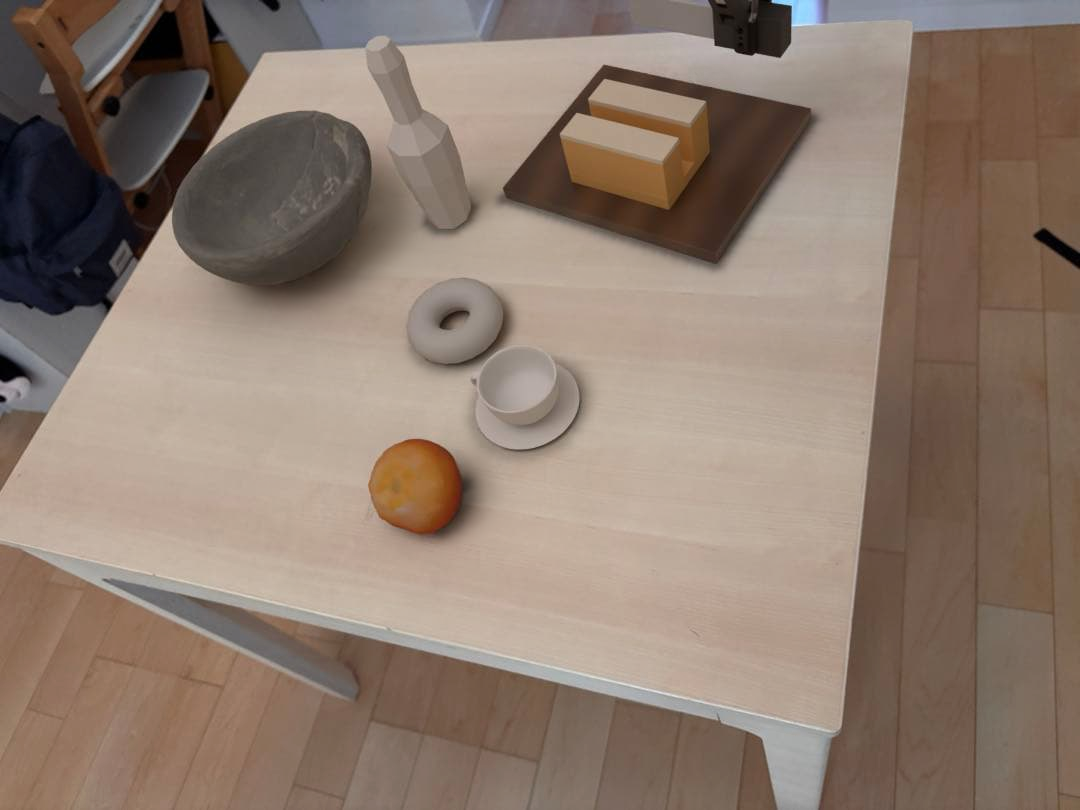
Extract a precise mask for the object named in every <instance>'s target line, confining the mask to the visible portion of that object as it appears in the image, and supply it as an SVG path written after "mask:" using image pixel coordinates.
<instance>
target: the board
mask: <svg viewBox="0 0 1080 810" xmlns="http://www.w3.org/2000/svg"><path fill="white" fill-rule="evenodd" d="M604 79H608V80H612V81H617V82H621V83H626V84H630V85H635V86H639V87H644V88H648V89H653V90H657V91H662V92H666V93H671V94H676V95H680V96H685V97H689V98H694V99H698V100H703V101H706V106H707V118H708V131H709V145H710V153H709V154H708V156H707V157H706V159H705V160H704V161H703V163H702V164H701V166H700V167H699V169H698V170H697V171H696V173H695V174H694V176H693V177H692V178H691V180H690V181H689V183H688V184H687V185H686V187H685V188H684V190H683V191H682V193H681V194H680V195H679V197H678V198H677V200H676V201H675V202H674V204H673V205H672V207H671V208H670V210H667V209H664V208H660V207H657V206H654V205H650V204H647V203H643V202H640V201H636V200H633V199H629V198H626V197H623V196H619V195H616V194H612V193H609V192H605V191H602V190H598V189H595V188H592V187H588V186H585V185H581V184H578V183H574V182H572V181H571V177H570V173H569V169H568V165H567V161H566V157H565V153H564V149H563V145H562V141H561V137H560V133H561V132H562V130H563V129H564V128H565V127H566V125H567V124H568V123H569V122H570V121H571V119H572V118H573V117H574V116H575V114H576V113H580V114H584V115H588V116H591V111H590V107H589V101H588V98H589V97H590V96H591V95H592V93H593V92H594V91H595V90H596V88H597V87H598V86H599V85H600V84H601V82H602V81H603V80H604ZM811 118H812V108H811V107H807V106H802V105H797V104H792V103H787V102H783V101H780V100H779V101H778V100H773V99H770V98H764V97H760V96H755V95H751V94H746V93H741V92H737V91H736V92H735V91H731V90H726V89H722V88H717V87H712V86H707V85H703V84H700V83H699V84H698V83H694V82H688V81H684V80H680V79H675V78H670V77H665V76H660V75H655V74H651V73H647V72H642V71H636V70H632V69H627V68H622V67H619V66H613V65H610V64H609V65H608V64H603V65H601V67H600V69H599V70H598V71H597V72H596V74H594V76H593V77H592V78H591V79H590V80H589V82H588V83H587V84H586V85H585V87H584V88H583V89H582V90H581V92H580V93H579V94H578V95H577V97H575V99H574V100H573V101H572V103H571V104H569V106H568V107H567V109H566V110H565V111H564V112H563V114H562V115H561V116H560V117H559V118H558V120H557V121H556V122H555V123H554V125H553V126H551V128H550V129H549V131H548V132H547V133H546V135H544V136H543V138H542V139H541V140H540V142H539V143H538V144H537V146H536V147H535V148H534V149H533V150H532V151H531V152H530V154H529V155H528V156H527V157H526V158H525V160H524V161H523V162H522V163H521V165H520V166H519V167H518V169H516V170H515V172H514V173H513V175H511V177H510V178H509V180H508V181H507V182H506V183H505V184H504V186H503V187H502V190H503V191H502V192H503V193H504V196H505V198H506V199H508V200H512V201H515V202H519V203H521V204H525V205H528V206H531V207H534V208H537V209H540V210H544V211H547V212H551V213H553V214H557V215H560V216H562V217H566V218H568V219H573V220H576V221H579V222H581V223H585V224H588V225H592V226H595V227H598V228H601V229H604V230H608V231H611V232H614V233H617V234H620V235H624V236H627V237H629V238H633V239H636V240H639V241H643V242H646V243H648V244H652V245H656V246H659V247H661V248H665V249H667V250H671V251H674V252H677V253H681V254H684V255H687V256H690V257H693V258H697V259H699V260H703V261H706V262H709V263H713V264H717V263H718V261H719V260H720V258H721V257H722V255H723V254H724V252H725V250H727V247H729V245H730V243H731V241H732V239H733V238H734V237H735V235H736V234H737V232H738V231H739V229H740V227H741V226H742V225H743V223H744V222H745V220H746V218H747V217H748V216H749V214H750V213H751V211H752V209H753V208H754V207H755V205H756V203H757V202H758V201H759V199H760V197H761V196H762V194H763V193H764V191H765V190H766V188H768V187H767V186H768V185H769V184H770V182H772V181H771V180H772V179H773V178H774V176H775V174H776V173H777V172H778V170H779V168H780V167H781V165H782V164H783V162H784V161H785V159H786V158H787V156H788V155H789V154H790V152H791V150H792V149H793V147H794V146H795V144H796V143H797V141H798V140H799V138H800V137H801V135H802V133H803V132H804V130H805V129H806V127H807V126H808V125H809V123H810V121H811V120H812V119H811Z"/></svg>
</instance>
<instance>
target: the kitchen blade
mask: <svg viewBox="0 0 1080 810" xmlns="http://www.w3.org/2000/svg"><path fill="white" fill-rule="evenodd" d="M627 1H628V6H629V14H630V21H631V25H635V26H640V27H646V28H650V29H656V30H660V31H661V30H662V31H667V32H673V33H678V34H684V35H690V36H695V37H699V38H700V37H701V38H706V39H711V40H713V43H714V44H713V45H714V46H715V47H718V48H724V49H730V50H734V40H733V27H731V26H726V25H720V24H719V22H718V20H717V18H716V16H715V14H714V12H713V10H712V8H711V6H710V4H709V3H706V2H700V1H694V0H627ZM742 1H743V4H744V6H745V7H747V8H748V1H747V0H742ZM792 16H793V5H790V4H783V3H777V2H772V3H771V2H765V1H759V0H758V15H757V22H758V50H757V51H756V53H755V54H757V55H762V56H767V57H773V58H778V59H781V58H782V57H783V56H784V54H785V53H786V51H787V50H788V48H789V47H790V45H791V44H792V25H793V24H792V21H793V20H792V19H793V17H792Z"/></svg>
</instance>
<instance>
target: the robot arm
mask: <svg viewBox="0 0 1080 810" xmlns="http://www.w3.org/2000/svg"><path fill="white" fill-rule="evenodd" d="M707 1H708V4H710V6H711V8H712V10H713V12H714V14H715V16H716V18H717V20H718V22H719V24H720V25H726V26H731V27H733V40H734V49H733V51H734V53H736V54H739V55H744V56H749V57H754V56H755V54H756V51H757V50H758V22H757V15H758V0H747V1H748V8H747V7H745V6H744V4H743V1H742V0H707ZM759 1H765V2H771V3H773V0H759Z"/></svg>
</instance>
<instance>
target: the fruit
mask: <svg viewBox="0 0 1080 810" xmlns="http://www.w3.org/2000/svg"><path fill="white" fill-rule="evenodd" d="M463 486H464V482H463V478H462V475H461V472H460V469H459V465H458V463H457V461H456V459H455V458H454V456H453V454H452V453H451V452H450V451H449V450H448V449H446V448H445V447H444V446H442V445H440V444H438V443H437V442H434V441H432V440H428V439H424V438H408V439H404V440H403V441H401V442H398V443H394V444H392V445H391V446H390V447H388V448H386V449H385V450H384V451H383V453H382V454H381V455H380V456H379V457H378V459H377V460H376V462H375V463H374V465H373V469H372V471H371V473H370V478H369V481H368V484H367V487H368V491H369V494H370V500H371V502H372V505H373V506H374V509H375V511H376V513H377V515H378V517H379V518H380V519H381V520H383V521H385V522H386V523H388V525H391V526H392V527H394V528H399V529H402V530H405V531H409V532H410V533H414V534H417V535H428V534H432V533H435V532H437V531H438V530H440V529H441V528H444V527H445V526H446V525H448V524H449V523H450V522H451V521H452V520H453V519H454V517H455V515H456V513H457V511H458V510H459V508H460V507H461V505H462V501H463V496H464V487H463Z"/></svg>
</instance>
